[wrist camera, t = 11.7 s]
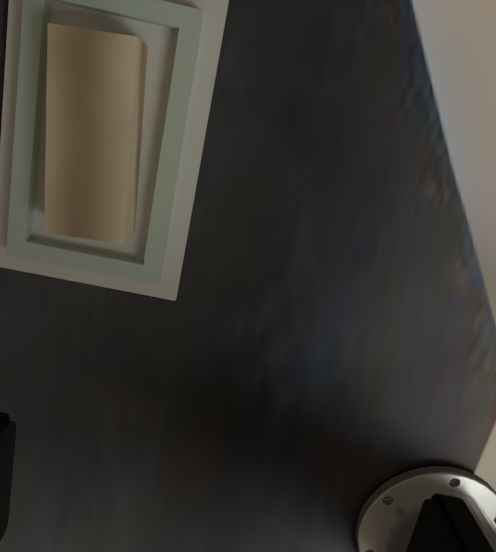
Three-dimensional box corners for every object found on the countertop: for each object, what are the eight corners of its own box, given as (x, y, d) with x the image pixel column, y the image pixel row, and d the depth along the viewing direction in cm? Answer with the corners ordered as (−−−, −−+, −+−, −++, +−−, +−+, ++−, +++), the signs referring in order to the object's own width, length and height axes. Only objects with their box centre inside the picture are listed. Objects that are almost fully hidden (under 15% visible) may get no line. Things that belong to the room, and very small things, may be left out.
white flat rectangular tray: (176, 298, 35) (173, 305, 33) (-4, 263, 34) (-15, 269, 33) (229, -3, 29) (228, -10, 28) (16, -53, 28) (3, -63, 27)
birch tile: (148, 46, 30) (137, 36, 27) (134, 234, 33) (124, 243, 30) (66, 33, 29) (47, 22, 26) (61, 224, 33) (44, 233, 30)
